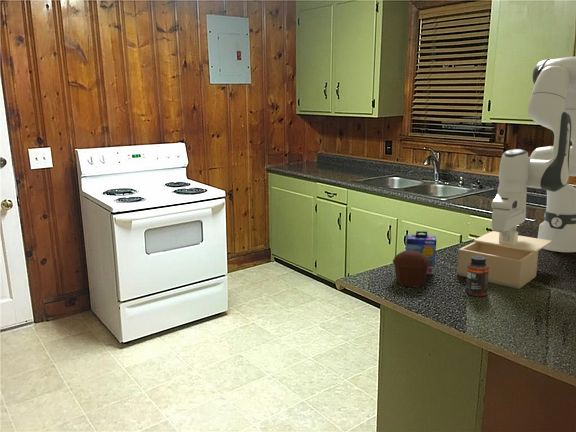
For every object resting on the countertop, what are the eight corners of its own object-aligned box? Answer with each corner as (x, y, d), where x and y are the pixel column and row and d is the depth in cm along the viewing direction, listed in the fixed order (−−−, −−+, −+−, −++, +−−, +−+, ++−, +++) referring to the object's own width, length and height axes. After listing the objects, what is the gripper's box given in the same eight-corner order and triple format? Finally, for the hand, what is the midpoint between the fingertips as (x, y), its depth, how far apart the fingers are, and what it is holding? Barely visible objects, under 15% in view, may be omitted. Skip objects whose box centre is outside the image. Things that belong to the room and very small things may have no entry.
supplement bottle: (485, 290, 156) (488, 255, 153) (488, 297, 150) (491, 261, 148) (465, 289, 157) (467, 253, 155) (467, 296, 152) (469, 259, 149)
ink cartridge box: (405, 273, 172) (406, 231, 169) (404, 268, 178) (405, 227, 175) (435, 274, 171) (437, 232, 167) (434, 269, 176) (436, 228, 173)
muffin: (432, 278, 167) (433, 249, 165) (426, 290, 157) (427, 258, 155) (396, 274, 172) (396, 245, 170) (388, 285, 162) (389, 254, 160)
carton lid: (492, 232, 188) (493, 220, 187) (551, 242, 174) (553, 229, 173) (473, 241, 177) (474, 228, 176) (535, 252, 163) (537, 238, 162)
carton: (476, 264, 181) (478, 239, 179) (536, 276, 167) (538, 250, 165) (457, 274, 170) (458, 249, 168) (518, 288, 157) (521, 261, 155)
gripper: (513, 193, 178) (510, 232, 182) (489, 203, 164) (486, 244, 167) (532, 195, 174) (529, 235, 177) (509, 205, 160) (505, 248, 163)
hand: (508, 239), depth 172 cm, fingers closed on carton lid, 3 cm apart
